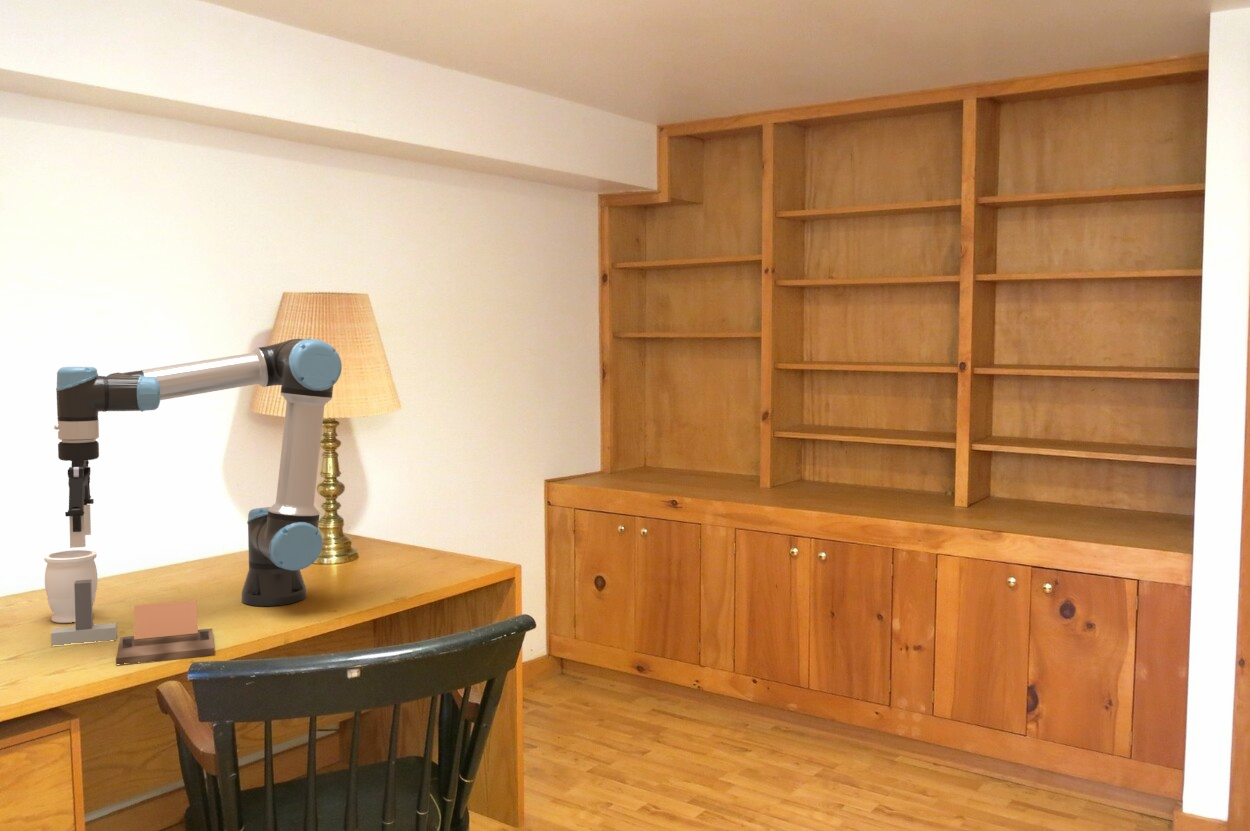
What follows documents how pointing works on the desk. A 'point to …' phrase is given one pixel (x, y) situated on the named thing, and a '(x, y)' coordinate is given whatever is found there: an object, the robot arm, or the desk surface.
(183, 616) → the tile
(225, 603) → the desk surface
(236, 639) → the desk surface
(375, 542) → the desk surface
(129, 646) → the board
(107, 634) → the paddle
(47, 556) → the jar
